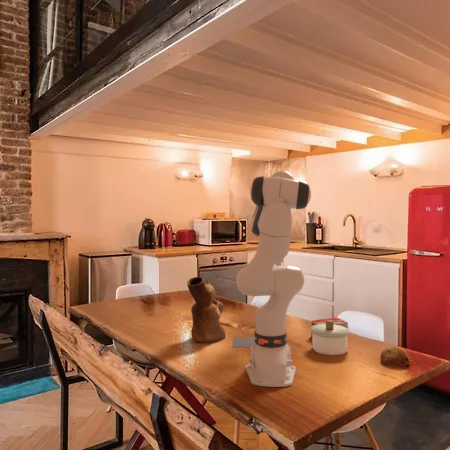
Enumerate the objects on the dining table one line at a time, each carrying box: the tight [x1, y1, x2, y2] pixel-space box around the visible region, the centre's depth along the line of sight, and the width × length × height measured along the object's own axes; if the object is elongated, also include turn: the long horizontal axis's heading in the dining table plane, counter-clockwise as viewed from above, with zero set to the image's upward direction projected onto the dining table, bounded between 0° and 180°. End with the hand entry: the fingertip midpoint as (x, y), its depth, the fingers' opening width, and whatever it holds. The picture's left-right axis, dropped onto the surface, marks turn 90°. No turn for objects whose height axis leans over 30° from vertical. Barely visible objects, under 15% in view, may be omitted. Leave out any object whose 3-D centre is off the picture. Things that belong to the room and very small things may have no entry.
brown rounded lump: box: [380, 345, 411, 367], centre depth 160 cm, size 10×10×8 cm
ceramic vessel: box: [186, 276, 226, 344], centre depth 186 cm, size 16×22×30 cm
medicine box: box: [310, 317, 349, 338], centre depth 191 cm, size 15×8×8 cm, turn 109°
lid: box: [310, 320, 350, 338], centre depth 174 cm, size 16×16×5 cm
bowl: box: [311, 334, 349, 356], centre depth 174 cm, size 14×14×8 cm
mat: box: [231, 336, 255, 349], centre depth 183 cm, size 14×14×1 cm
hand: (278, 269), depth 196 cm, fingers open, 8 cm apart
